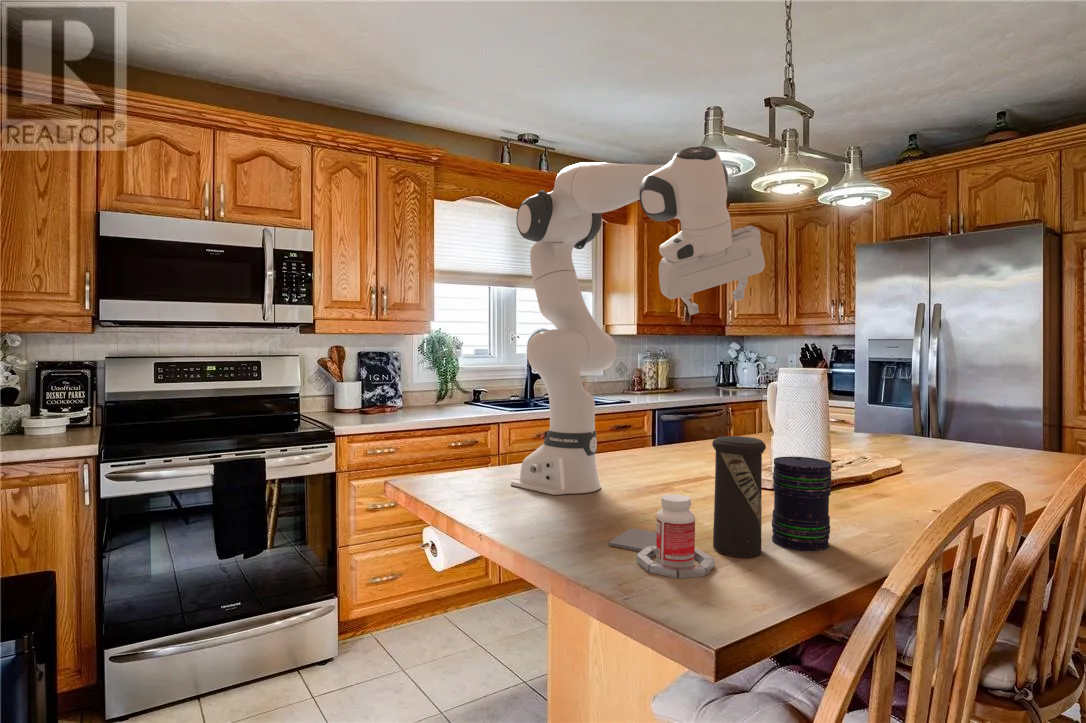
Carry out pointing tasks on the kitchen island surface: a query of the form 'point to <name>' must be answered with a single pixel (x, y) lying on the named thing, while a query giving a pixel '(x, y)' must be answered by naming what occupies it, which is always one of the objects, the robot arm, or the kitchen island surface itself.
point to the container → (738, 495)
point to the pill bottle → (675, 532)
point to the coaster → (635, 539)
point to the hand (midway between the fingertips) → (716, 306)
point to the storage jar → (801, 503)
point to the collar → (675, 572)
